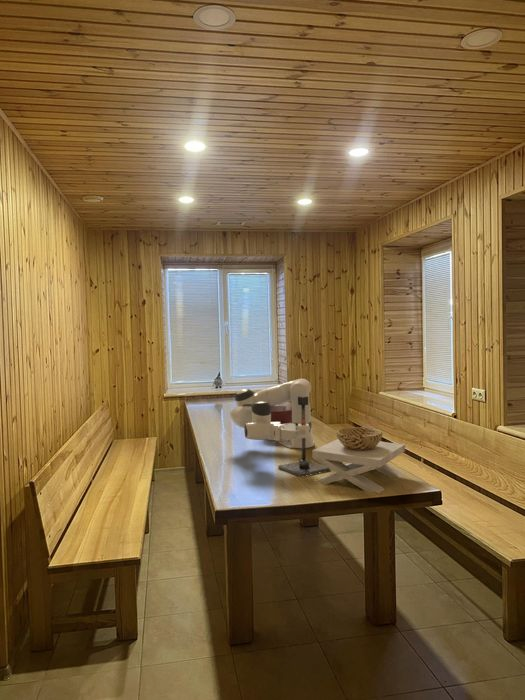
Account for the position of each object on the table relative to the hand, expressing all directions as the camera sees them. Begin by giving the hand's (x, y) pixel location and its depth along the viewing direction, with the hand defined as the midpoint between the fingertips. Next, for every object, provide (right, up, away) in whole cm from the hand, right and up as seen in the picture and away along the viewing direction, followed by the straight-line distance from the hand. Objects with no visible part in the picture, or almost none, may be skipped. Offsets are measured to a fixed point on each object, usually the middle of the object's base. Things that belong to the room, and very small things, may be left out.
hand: (305, 430), depth 250 cm
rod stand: (-1, -19, +1) cm, 19 cm away
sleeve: (-1, -3, 0) cm, 3 cm away
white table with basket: (+24, -20, -14) cm, 34 cm away
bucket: (-11, -16, +74) cm, 76 cm away
